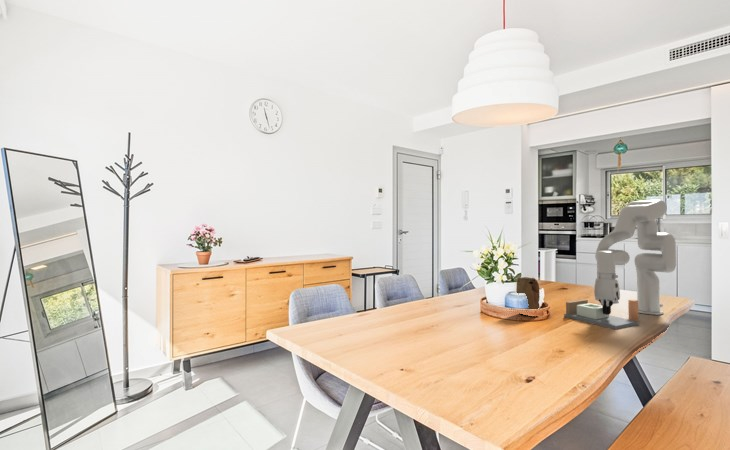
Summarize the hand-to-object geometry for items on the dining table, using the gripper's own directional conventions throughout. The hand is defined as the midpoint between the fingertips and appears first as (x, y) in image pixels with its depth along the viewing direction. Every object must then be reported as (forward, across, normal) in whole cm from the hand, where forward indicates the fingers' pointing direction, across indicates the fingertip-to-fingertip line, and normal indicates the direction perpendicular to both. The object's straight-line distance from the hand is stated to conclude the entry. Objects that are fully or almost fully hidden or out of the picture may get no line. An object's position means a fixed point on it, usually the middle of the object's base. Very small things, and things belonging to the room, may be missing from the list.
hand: (606, 313), depth 183 cm
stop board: (+4, +4, 0) cm, 5 cm away
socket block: (+3, +7, 0) cm, 8 cm away
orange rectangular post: (+4, -5, -13) cm, 15 cm away
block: (+4, +28, +21) cm, 35 cm away
